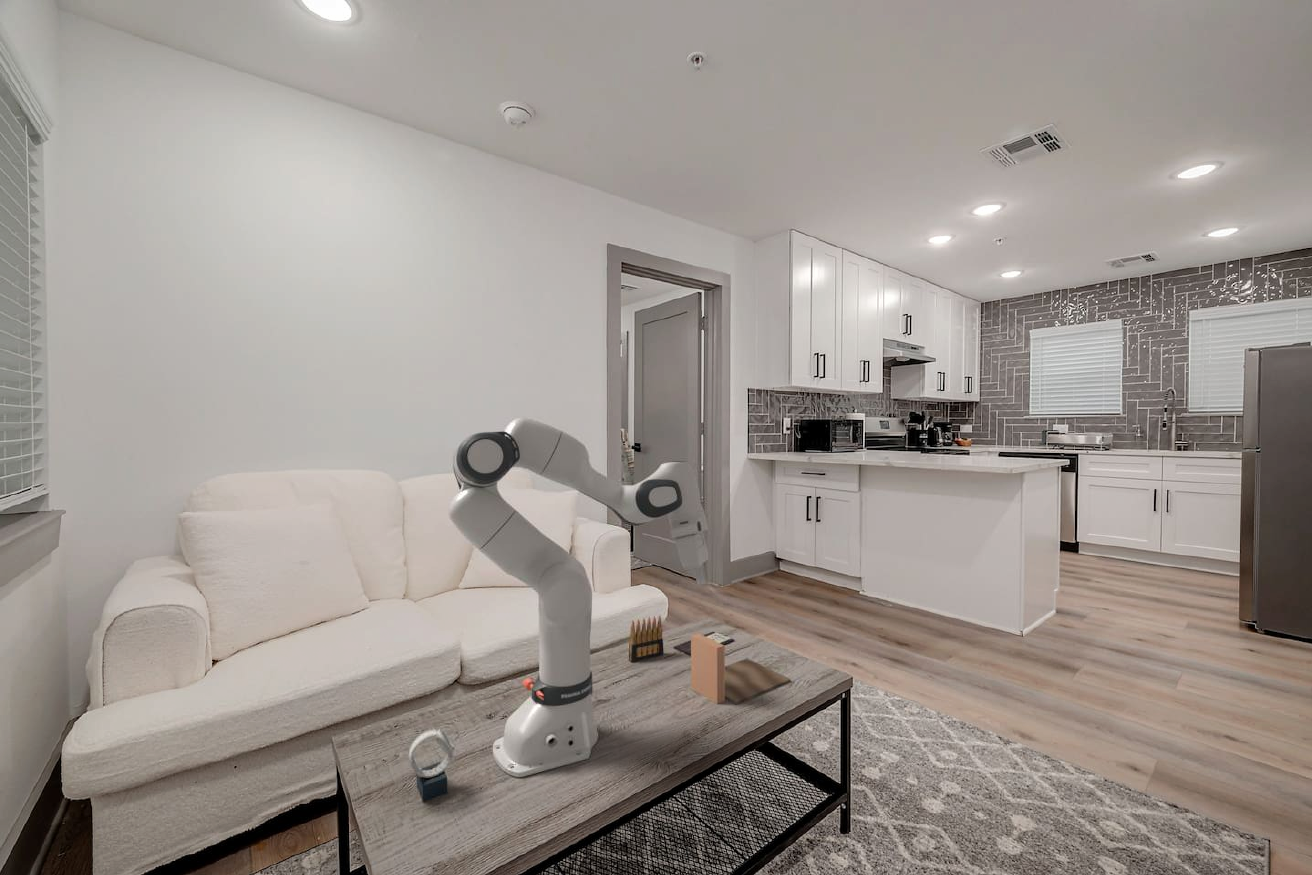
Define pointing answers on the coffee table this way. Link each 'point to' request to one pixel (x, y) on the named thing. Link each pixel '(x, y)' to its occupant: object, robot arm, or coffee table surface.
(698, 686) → the terracotta tile
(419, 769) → the watch
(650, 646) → the ammunition clip
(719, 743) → the coffee table surface
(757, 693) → the walnut board
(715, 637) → the chocolate bar
